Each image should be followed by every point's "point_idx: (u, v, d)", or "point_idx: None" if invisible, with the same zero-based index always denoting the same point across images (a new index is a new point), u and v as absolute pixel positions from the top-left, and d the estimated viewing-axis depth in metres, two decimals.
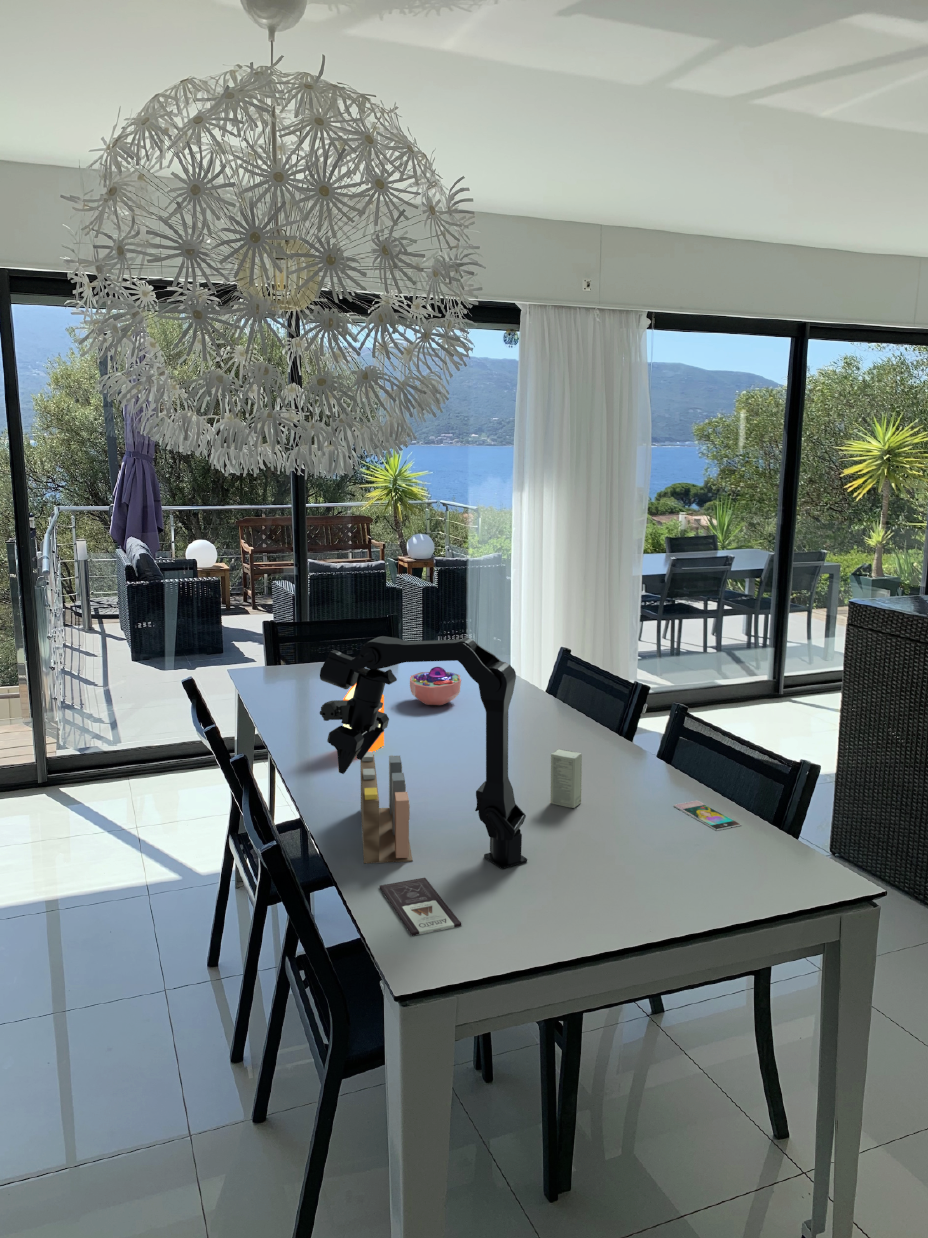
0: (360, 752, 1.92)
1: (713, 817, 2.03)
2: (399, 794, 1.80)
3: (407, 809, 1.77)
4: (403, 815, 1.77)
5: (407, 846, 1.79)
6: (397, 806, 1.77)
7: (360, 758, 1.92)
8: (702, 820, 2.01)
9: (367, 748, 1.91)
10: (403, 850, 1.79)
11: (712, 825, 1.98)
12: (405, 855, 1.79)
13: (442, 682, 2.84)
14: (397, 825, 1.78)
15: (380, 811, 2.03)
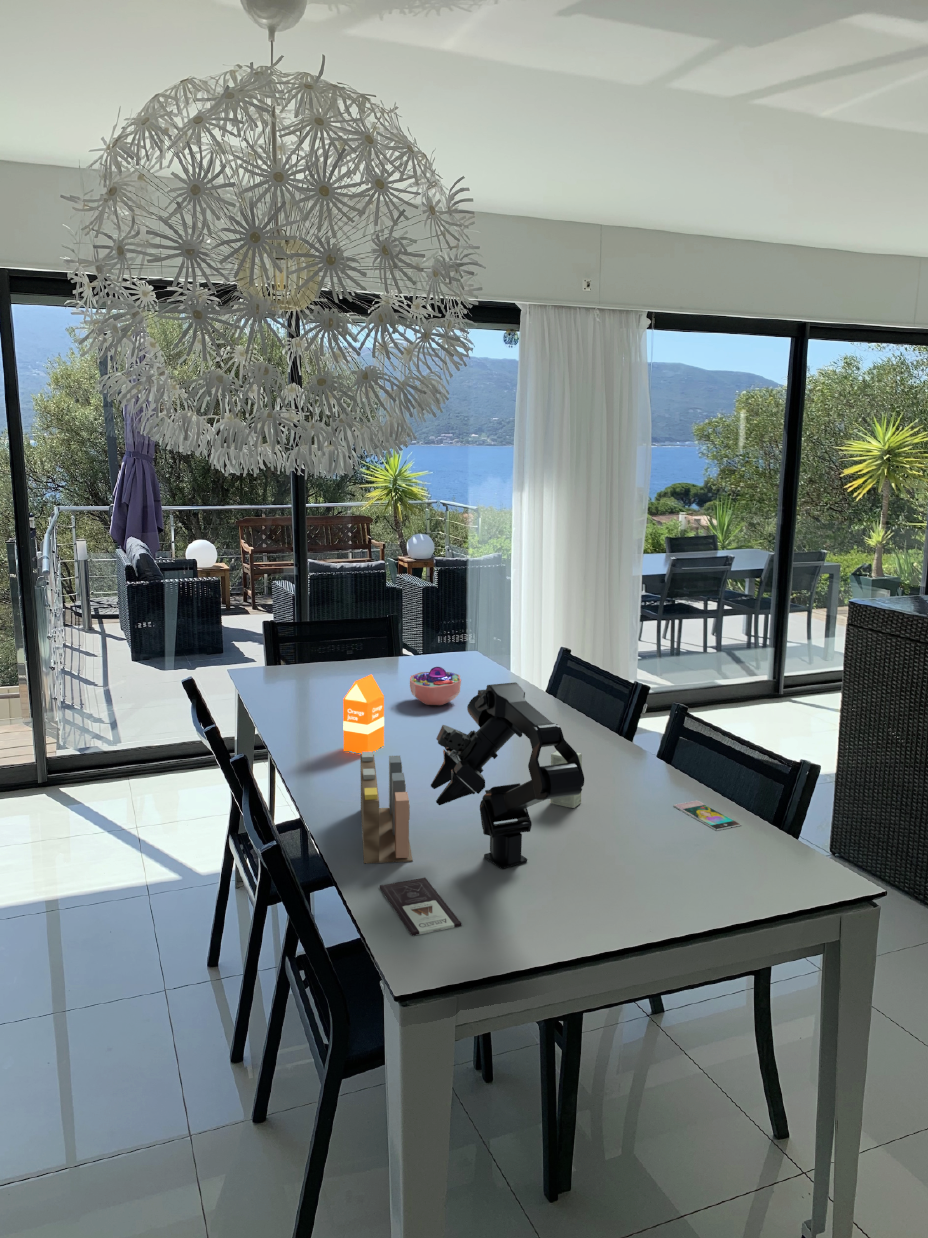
0: (437, 782, 1.84)
1: (713, 817, 2.03)
2: (399, 794, 1.80)
3: (407, 809, 1.77)
4: (403, 815, 1.77)
5: (407, 846, 1.79)
6: (397, 806, 1.77)
7: (434, 787, 1.84)
8: (702, 820, 2.01)
9: (445, 780, 1.85)
10: (403, 850, 1.79)
11: (712, 825, 1.98)
12: (405, 855, 1.79)
13: (442, 682, 2.84)
14: (397, 825, 1.78)
15: (380, 811, 2.03)
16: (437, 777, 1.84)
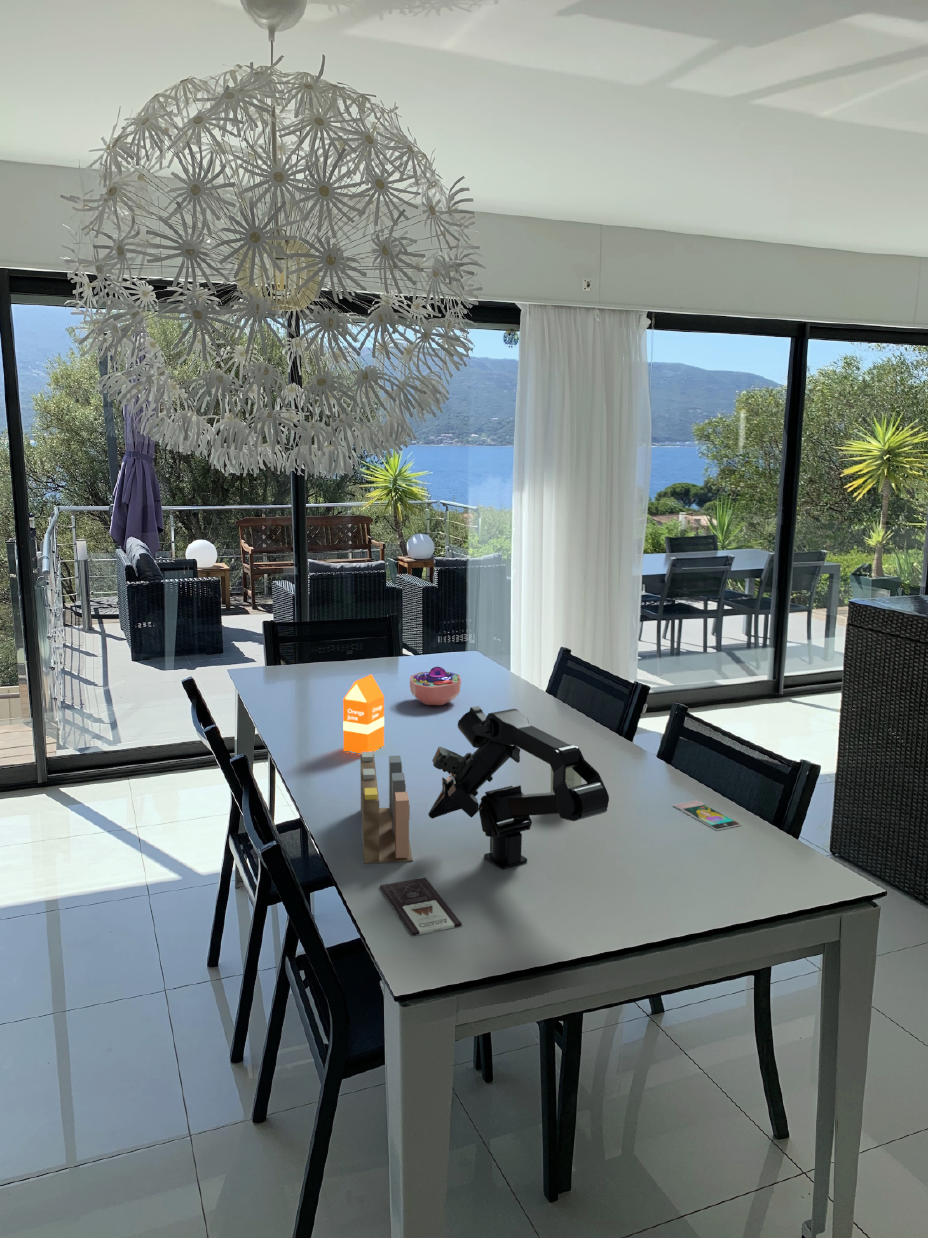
0: None
1: (713, 817, 2.03)
2: (399, 794, 1.80)
3: (407, 809, 1.77)
4: (403, 815, 1.77)
5: (407, 846, 1.79)
6: (397, 806, 1.77)
7: None
8: (702, 819, 2.01)
9: None
10: (403, 850, 1.79)
11: (712, 825, 1.98)
12: (405, 855, 1.79)
13: (442, 682, 2.84)
14: (397, 825, 1.78)
15: (380, 811, 2.03)
16: None
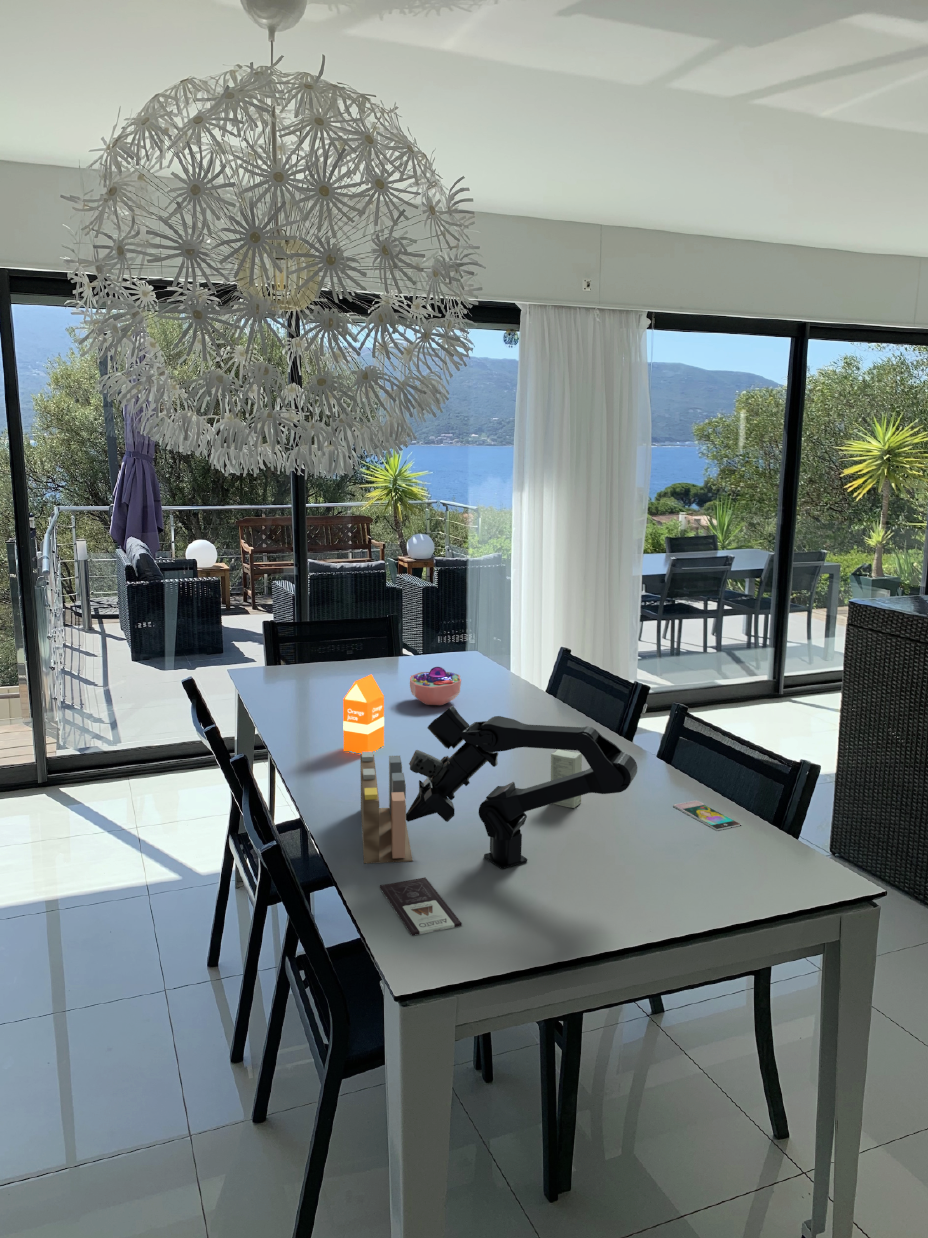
0: None
1: (713, 817, 2.03)
2: (395, 794, 1.80)
3: (403, 809, 1.77)
4: (399, 815, 1.77)
5: (403, 846, 1.79)
6: (393, 806, 1.77)
7: None
8: (702, 819, 2.01)
9: None
10: (399, 850, 1.79)
11: (712, 825, 1.98)
12: (401, 855, 1.79)
13: (442, 682, 2.84)
14: (393, 825, 1.78)
15: (380, 811, 2.03)
16: None
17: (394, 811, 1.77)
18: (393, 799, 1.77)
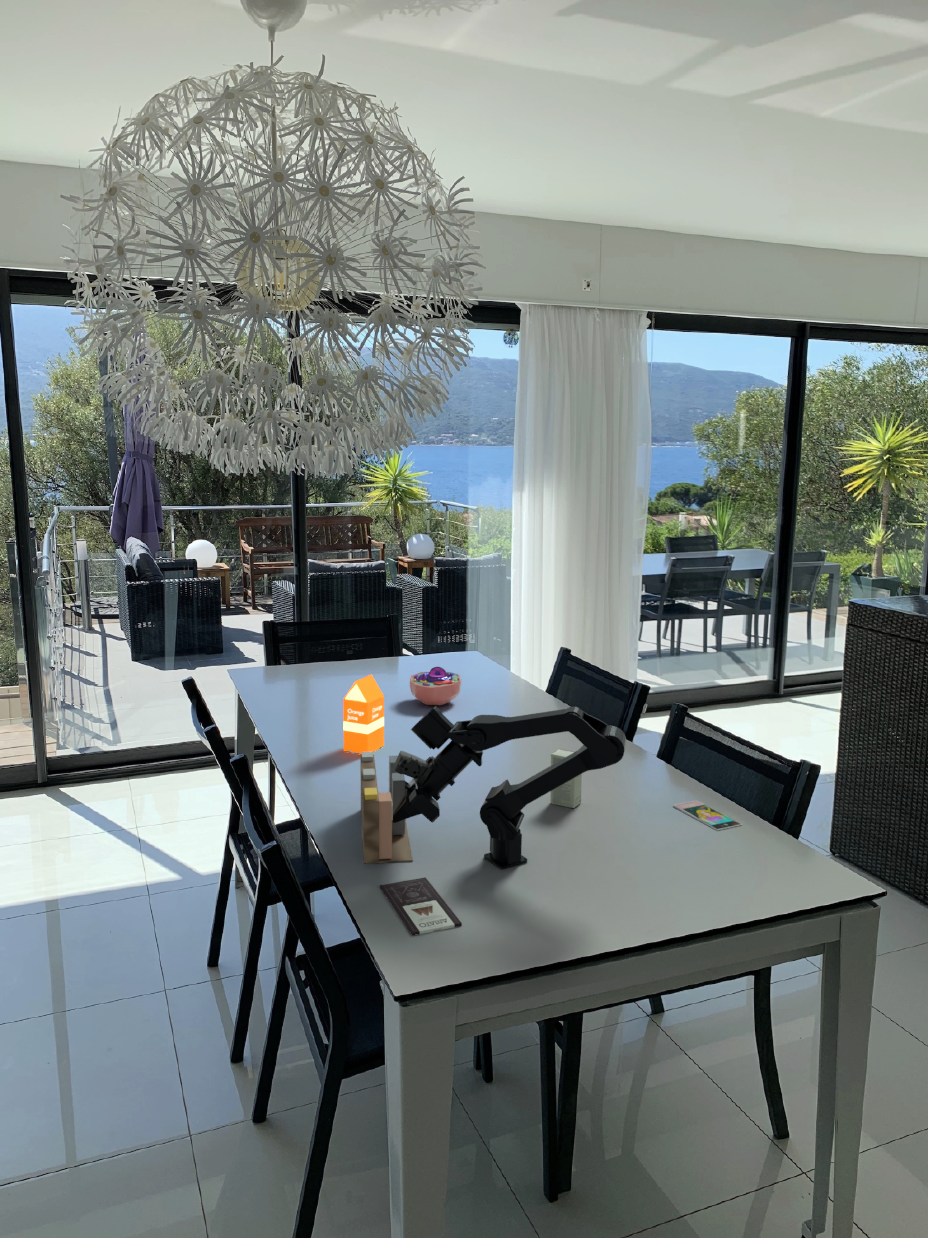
0: None
1: (713, 817, 2.03)
2: (382, 795, 1.80)
3: (390, 810, 1.77)
4: (386, 816, 1.77)
5: (390, 847, 1.78)
6: (380, 807, 1.77)
7: None
8: (702, 819, 2.01)
9: None
10: (386, 851, 1.78)
11: (713, 825, 1.98)
12: (388, 856, 1.79)
13: (442, 682, 2.84)
14: (380, 826, 1.77)
15: None
16: None
17: (380, 812, 1.77)
18: (379, 799, 1.77)
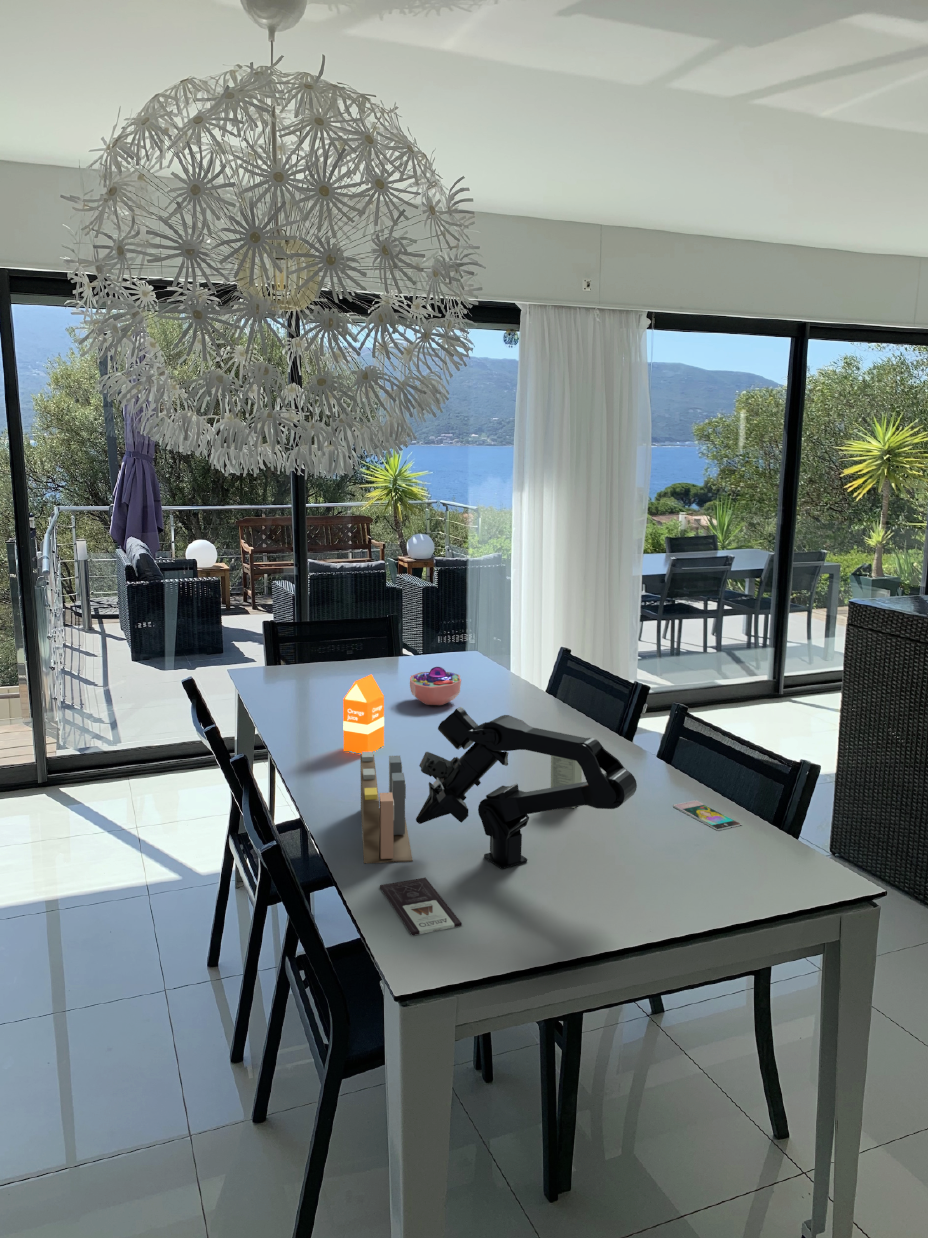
0: None
1: (713, 817, 2.03)
2: (384, 795, 1.80)
3: (391, 810, 1.77)
4: (387, 816, 1.77)
5: (392, 847, 1.78)
6: (381, 807, 1.77)
7: None
8: (702, 819, 2.01)
9: None
10: (387, 851, 1.78)
11: (713, 825, 1.98)
12: (390, 856, 1.79)
13: (442, 682, 2.84)
14: (381, 826, 1.77)
15: None
16: None
17: (382, 811, 1.77)
18: (381, 799, 1.77)
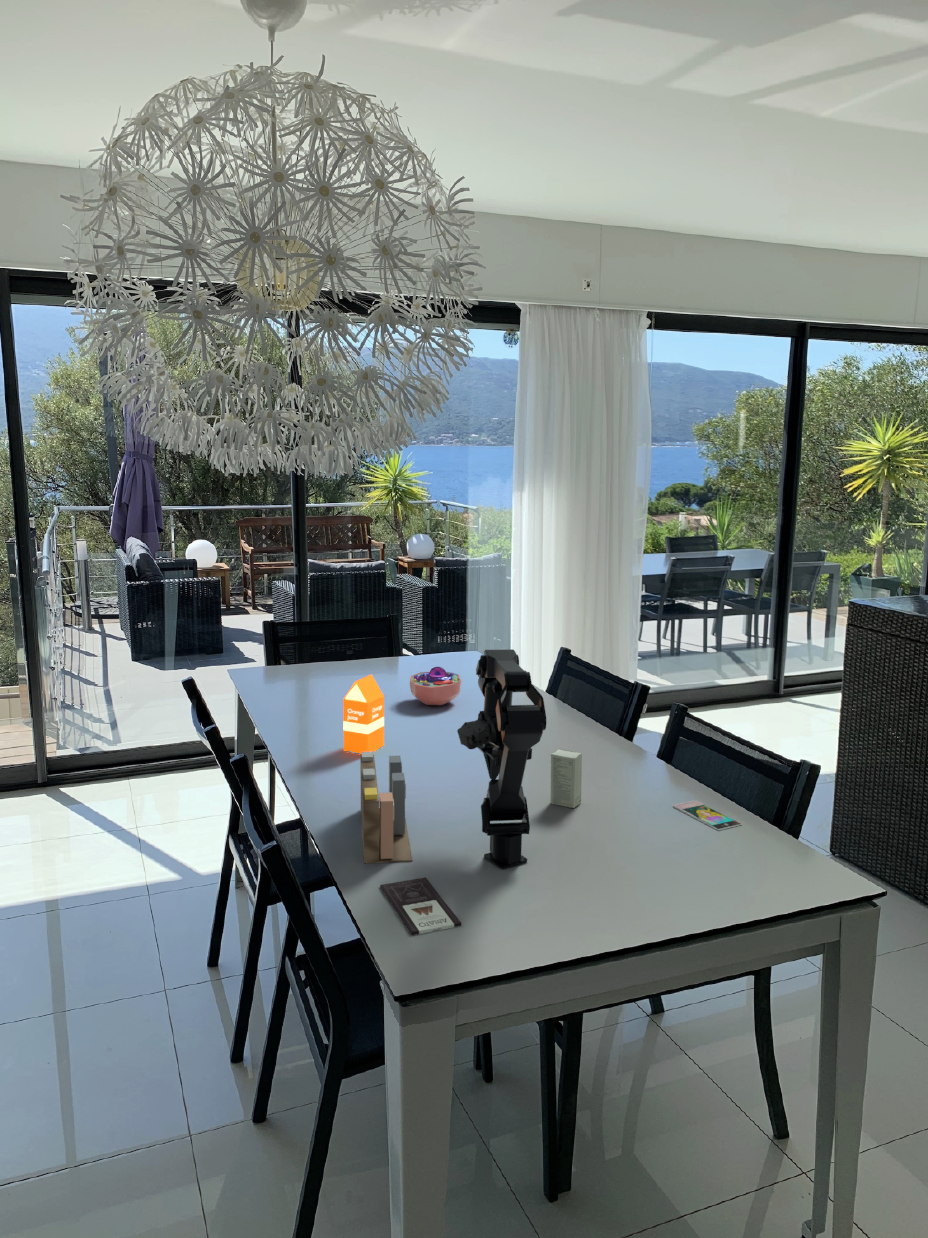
0: None
1: (713, 817, 2.03)
2: (384, 795, 1.80)
3: (391, 810, 1.77)
4: (387, 816, 1.77)
5: (392, 847, 1.78)
6: (381, 807, 1.77)
7: None
8: (703, 820, 2.01)
9: None
10: (387, 851, 1.78)
11: (713, 825, 1.98)
12: (390, 856, 1.79)
13: (442, 682, 2.84)
14: (381, 826, 1.77)
15: None
16: None
17: (382, 811, 1.77)
18: (381, 799, 1.77)
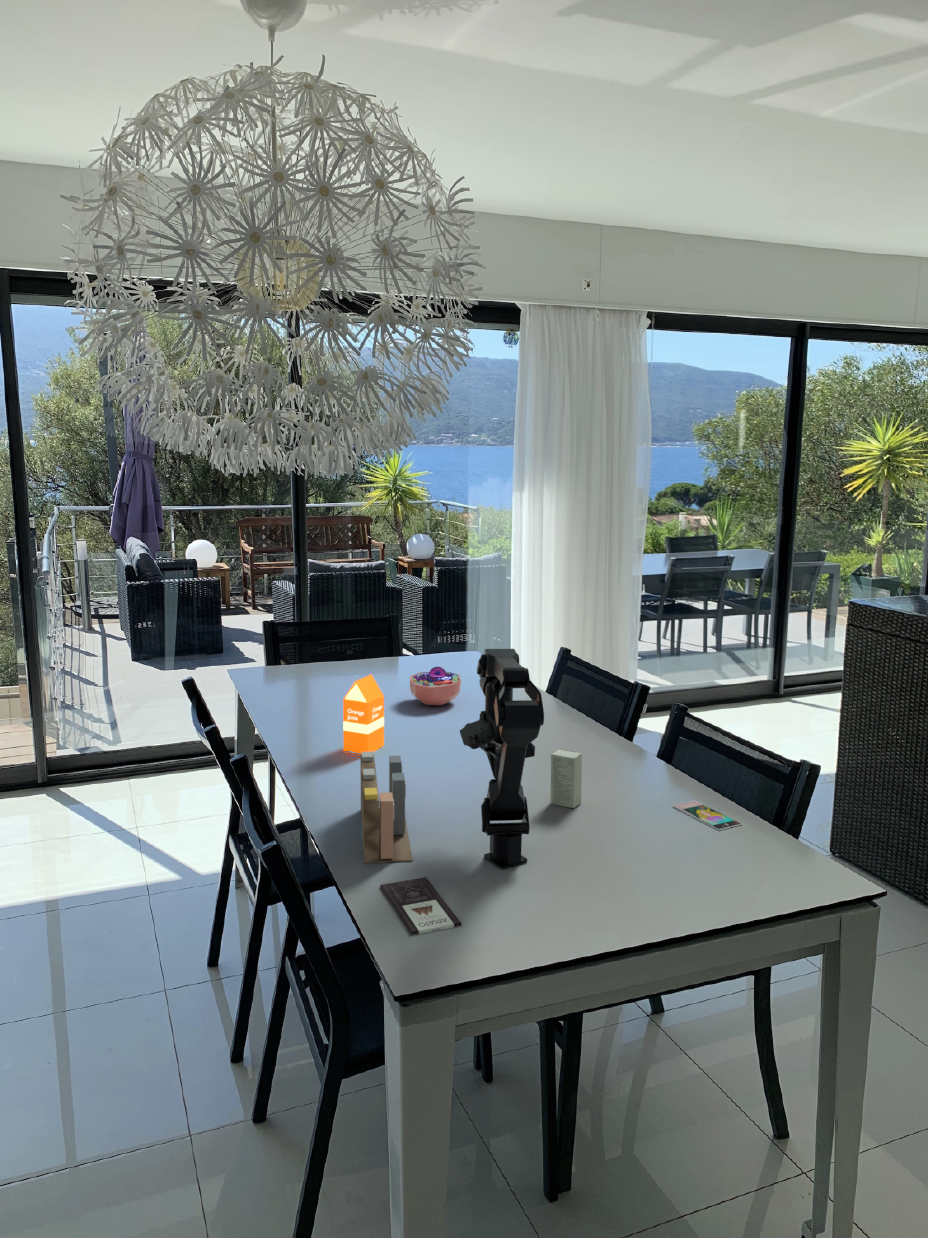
0: None
1: (713, 817, 2.03)
2: (384, 795, 1.80)
3: (391, 810, 1.77)
4: (387, 816, 1.77)
5: (392, 847, 1.78)
6: (381, 807, 1.77)
7: (498, 776, 1.92)
8: (703, 820, 2.01)
9: None
10: (387, 851, 1.78)
11: (714, 825, 1.98)
12: (390, 856, 1.79)
13: (442, 682, 2.84)
14: (381, 826, 1.77)
15: None
16: None
17: (382, 811, 1.77)
18: (381, 799, 1.77)
